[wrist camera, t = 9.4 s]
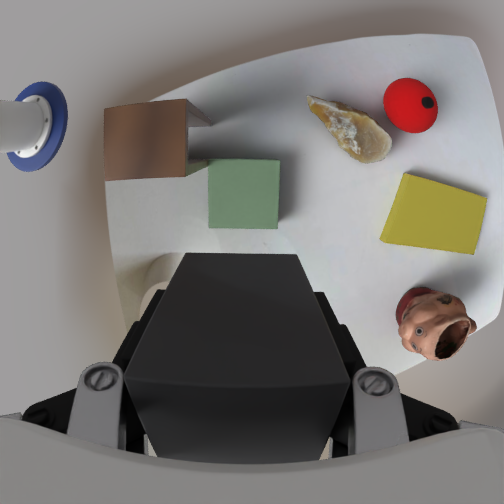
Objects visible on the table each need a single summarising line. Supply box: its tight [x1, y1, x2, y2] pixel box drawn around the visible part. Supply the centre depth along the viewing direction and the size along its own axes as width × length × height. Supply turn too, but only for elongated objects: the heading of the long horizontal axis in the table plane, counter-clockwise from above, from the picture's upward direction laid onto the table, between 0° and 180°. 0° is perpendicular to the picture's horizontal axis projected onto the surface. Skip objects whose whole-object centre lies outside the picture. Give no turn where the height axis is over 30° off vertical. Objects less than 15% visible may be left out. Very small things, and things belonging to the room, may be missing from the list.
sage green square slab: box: [208, 158, 280, 229], centre depth 41 cm, size 10×10×4 cm
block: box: [124, 253, 350, 464], centre depth 9 cm, size 4×4×7 cm
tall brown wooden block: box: [104, 99, 212, 181], centre depth 31 cm, size 8×7×19 cm
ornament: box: [383, 78, 438, 133], centre depth 33 cm, size 9×9×10 cm
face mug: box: [396, 287, 477, 361], centre depth 45 cm, size 20×12×14 cm, turn 92°
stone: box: [307, 95, 392, 164], centre depth 37 cm, size 7×6×15 cm
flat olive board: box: [380, 173, 487, 255], centre depth 44 cm, size 12×2×24 cm
